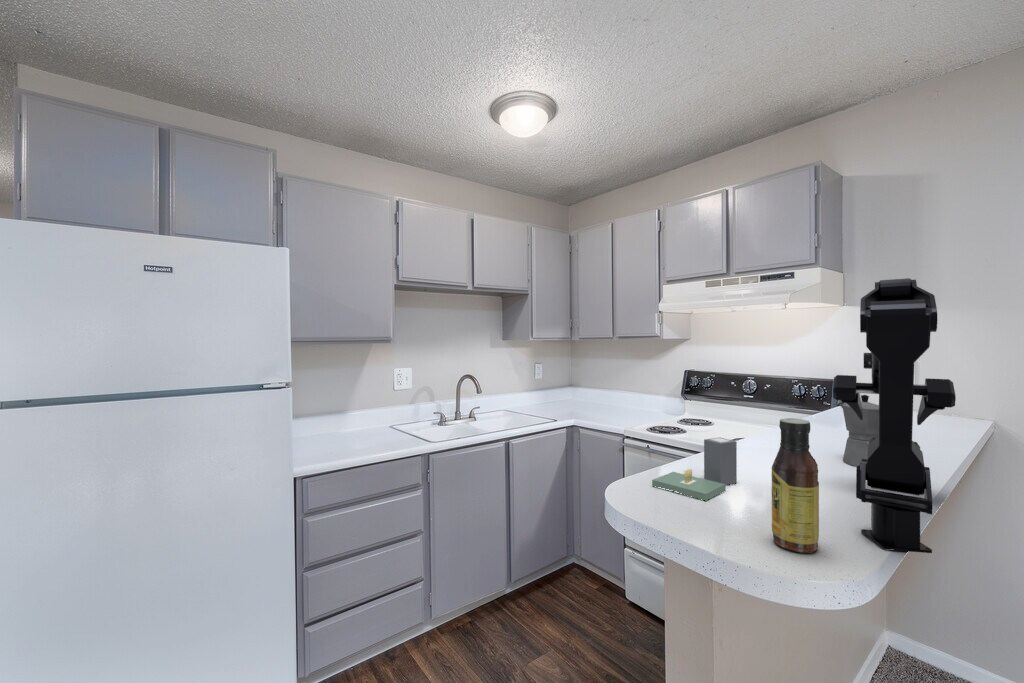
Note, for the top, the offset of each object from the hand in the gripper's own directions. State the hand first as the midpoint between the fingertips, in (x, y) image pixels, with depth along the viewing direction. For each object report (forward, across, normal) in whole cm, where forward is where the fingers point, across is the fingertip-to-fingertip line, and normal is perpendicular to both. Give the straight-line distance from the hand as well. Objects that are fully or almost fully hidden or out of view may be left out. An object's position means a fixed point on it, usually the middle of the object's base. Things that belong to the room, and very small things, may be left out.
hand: (889, 421), depth 94 cm
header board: (-1, +34, +30) cm, 45 cm away
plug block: (+4, +30, +22) cm, 37 cm away
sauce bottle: (-10, +12, +44) cm, 47 cm away
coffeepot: (+24, +3, -10) cm, 26 cm away
